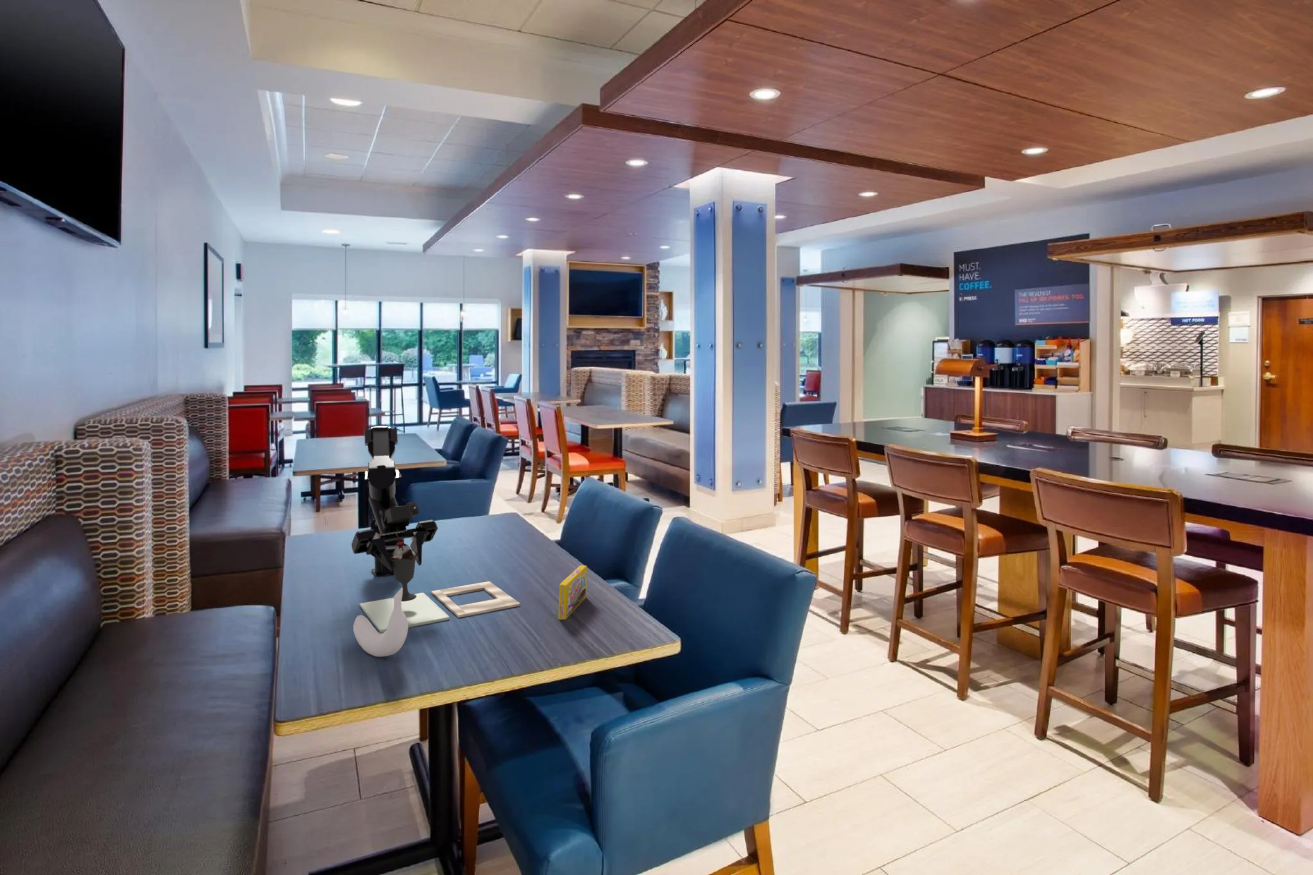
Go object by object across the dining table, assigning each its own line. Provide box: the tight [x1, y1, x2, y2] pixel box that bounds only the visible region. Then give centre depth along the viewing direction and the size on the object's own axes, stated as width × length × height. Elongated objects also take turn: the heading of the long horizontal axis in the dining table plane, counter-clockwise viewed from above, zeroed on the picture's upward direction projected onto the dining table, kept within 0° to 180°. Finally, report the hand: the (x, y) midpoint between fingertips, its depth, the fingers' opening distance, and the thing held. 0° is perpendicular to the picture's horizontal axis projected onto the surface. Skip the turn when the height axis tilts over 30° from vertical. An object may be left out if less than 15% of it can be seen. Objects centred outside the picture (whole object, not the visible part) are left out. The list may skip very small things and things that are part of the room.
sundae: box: [389, 534, 419, 601], centre depth 175 cm, size 7×7×15 cm
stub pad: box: [359, 592, 450, 634], centre depth 176 cm, size 20×15×1 cm
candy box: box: [557, 564, 588, 621], centre depth 179 cm, size 16×2×8 cm, turn 168°
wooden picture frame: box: [430, 580, 521, 619], centre depth 185 cm, size 20×15×1 cm
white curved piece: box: [352, 587, 409, 658], centre depth 152 cm, size 5×19×15 cm, turn 52°
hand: (406, 567), depth 174 cm, fingers closed on sundae, 6 cm apart
